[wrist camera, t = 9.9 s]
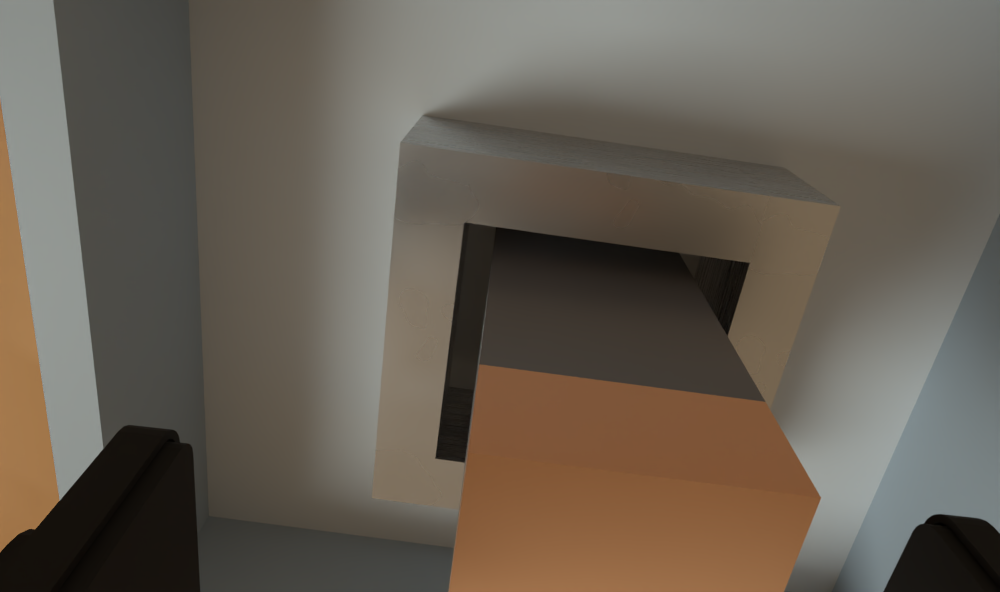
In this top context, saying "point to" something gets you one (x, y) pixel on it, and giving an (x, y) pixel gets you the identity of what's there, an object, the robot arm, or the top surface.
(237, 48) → the walled box
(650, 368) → the block
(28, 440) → the top surface
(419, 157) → the inlet
